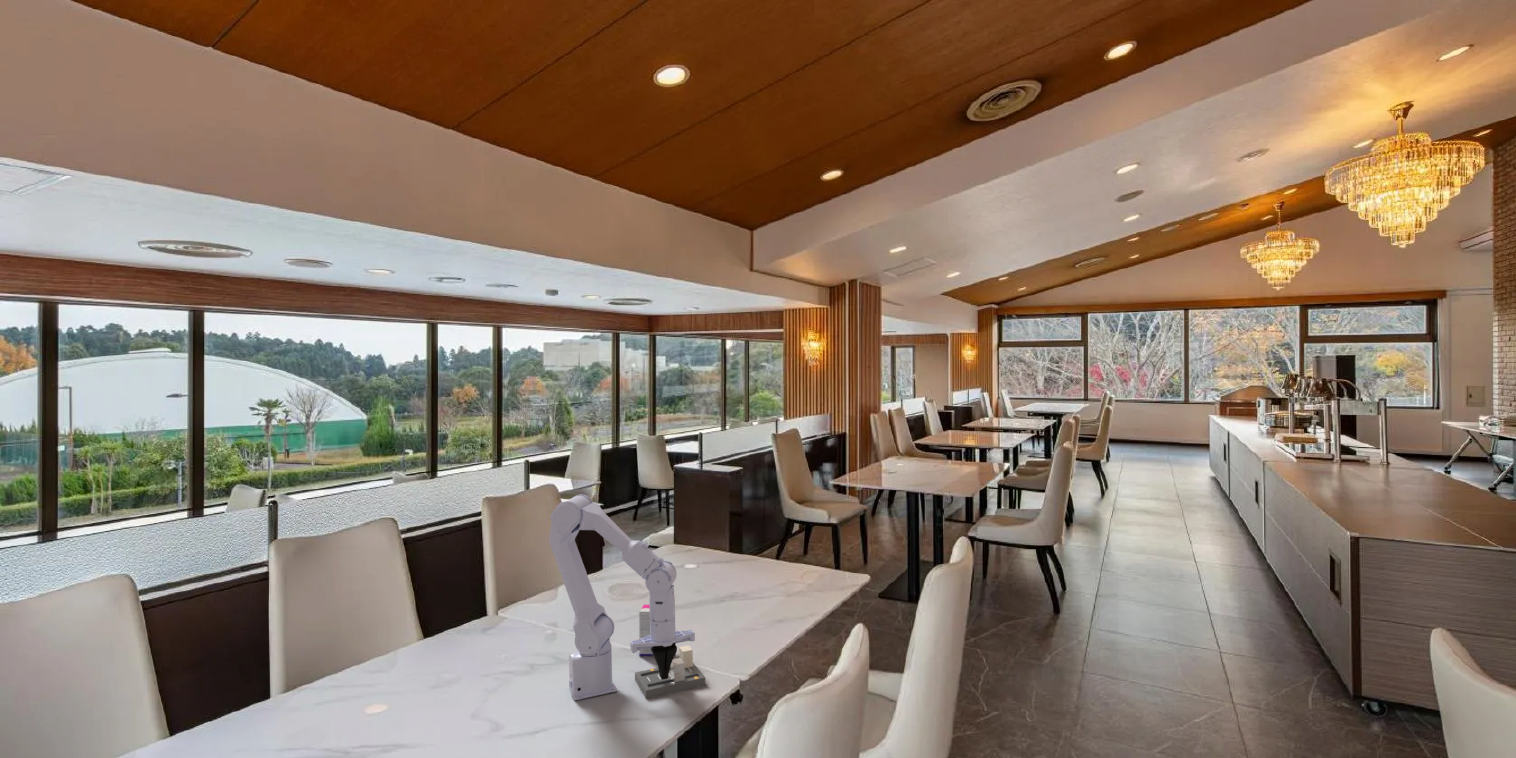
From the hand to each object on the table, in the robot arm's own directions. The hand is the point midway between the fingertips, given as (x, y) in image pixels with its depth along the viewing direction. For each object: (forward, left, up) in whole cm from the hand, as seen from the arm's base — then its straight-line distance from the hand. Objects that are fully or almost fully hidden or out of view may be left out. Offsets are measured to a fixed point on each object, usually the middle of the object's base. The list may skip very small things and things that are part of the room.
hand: (663, 677), depth 148 cm
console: (+2, +3, -3) cm, 5 cm away
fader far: (+7, +6, -2) cm, 10 cm away
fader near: (+3, 0, -2) cm, 4 cm away
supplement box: (+3, +22, -3) cm, 22 cm away
